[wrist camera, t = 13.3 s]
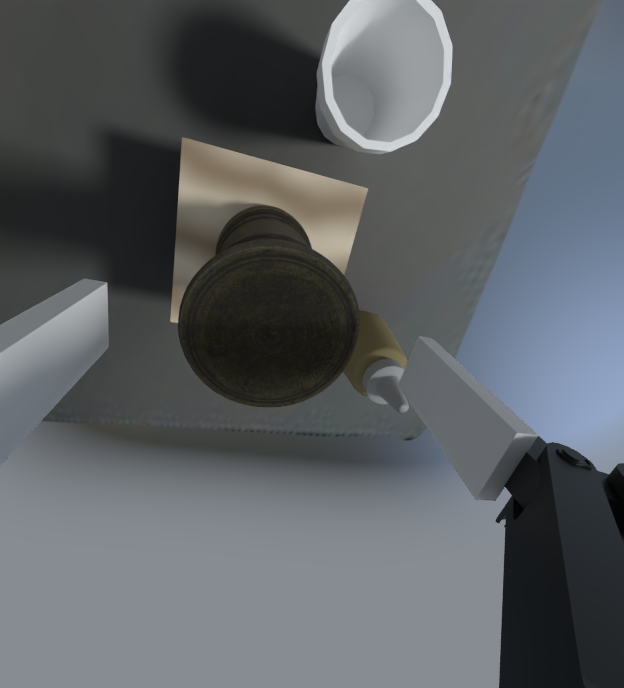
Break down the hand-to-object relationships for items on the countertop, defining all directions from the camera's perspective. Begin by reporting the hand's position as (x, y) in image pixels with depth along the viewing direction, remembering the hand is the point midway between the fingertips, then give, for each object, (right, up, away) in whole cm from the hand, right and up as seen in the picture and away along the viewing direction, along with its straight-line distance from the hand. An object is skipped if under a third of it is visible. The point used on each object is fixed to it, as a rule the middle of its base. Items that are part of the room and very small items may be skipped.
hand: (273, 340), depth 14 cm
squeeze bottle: (+7, +2, +32) cm, 33 cm away
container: (-3, +8, +17) cm, 19 cm away
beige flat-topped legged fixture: (-4, +12, +25) cm, 28 cm away
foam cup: (+5, +24, +20) cm, 32 cm away
